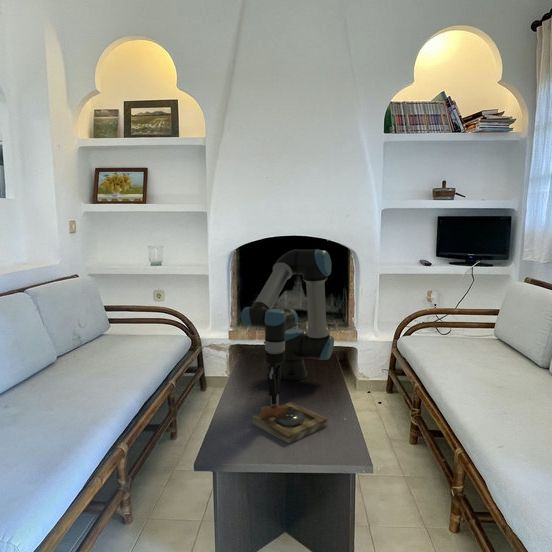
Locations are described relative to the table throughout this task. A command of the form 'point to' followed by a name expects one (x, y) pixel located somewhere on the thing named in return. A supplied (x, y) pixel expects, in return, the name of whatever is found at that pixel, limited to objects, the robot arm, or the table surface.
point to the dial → (283, 415)
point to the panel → (292, 433)
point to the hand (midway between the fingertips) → (274, 410)
